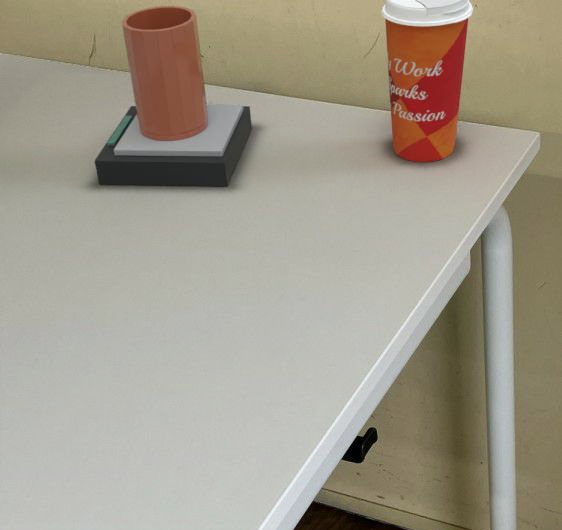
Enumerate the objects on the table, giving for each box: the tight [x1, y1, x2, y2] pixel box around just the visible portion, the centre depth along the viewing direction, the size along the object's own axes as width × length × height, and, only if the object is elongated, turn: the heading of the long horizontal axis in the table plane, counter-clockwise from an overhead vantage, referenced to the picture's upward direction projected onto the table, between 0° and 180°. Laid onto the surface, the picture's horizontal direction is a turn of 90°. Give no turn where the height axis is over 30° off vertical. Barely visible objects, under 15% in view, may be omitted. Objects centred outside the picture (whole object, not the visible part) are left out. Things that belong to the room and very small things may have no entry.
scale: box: [94, 104, 253, 187], centre depth 94 cm, size 12×12×3 cm
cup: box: [121, 5, 208, 141], centre depth 90 cm, size 6×6×10 cm
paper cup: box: [380, 0, 474, 163], centre depth 89 cm, size 8×8×14 cm
